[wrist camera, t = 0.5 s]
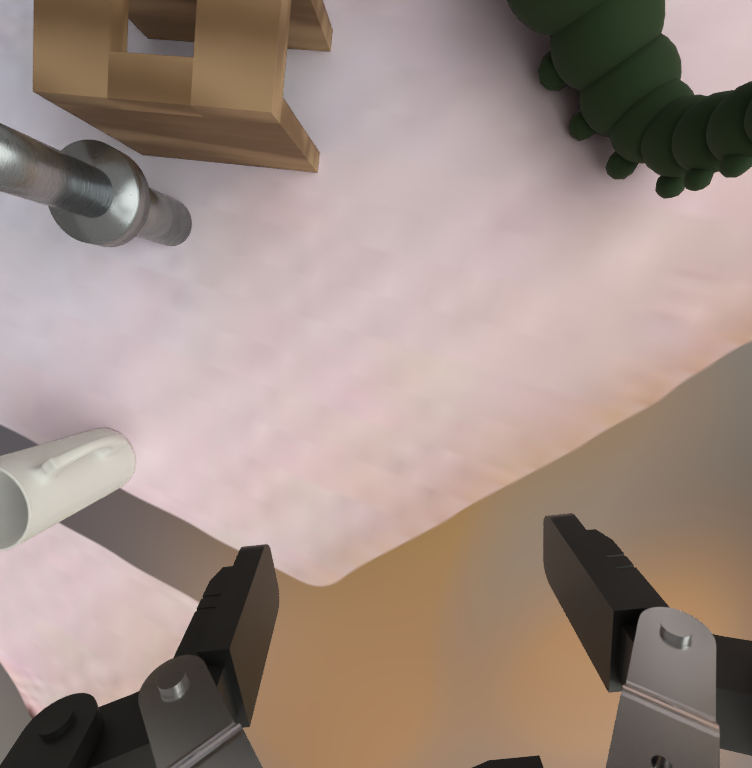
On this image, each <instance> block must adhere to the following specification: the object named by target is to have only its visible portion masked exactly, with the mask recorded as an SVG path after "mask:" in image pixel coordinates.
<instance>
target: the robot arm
mask: <svg viewBox="0 0 752 768" xmlns="http://www.w3.org/2000/svg"><path fill="white" fill-rule="evenodd" d="M543 535H544V536H543V537H544V538H543V540H544V541H543V549H544V550H543V555H544V556H543V562H544V569H545V573H546V577H547V579H548V582H549V584H550V586H551V588H552V590H553V592H554V594H555V595H556V597H557V599H558V601H559V603H560V605H561V606H562V608H563V610H564V612H565V614H566V616H567V617H568V619H569V621H570V623H571V625H572V626H573V628H574V630H575V632H576V634H577V635H578V638H579V639H580V641H581V643H582V645H583V647H584V649H585V650H586V652H587V654H588V656H589V658H590V659H591V661H592V663H593V665H594V667H595V669H596V670H597V672H598V674H599V676H600V678H601V680H602V681H603V683H604V685H605V687H606V689H607V690H608V692H619V691H621V696H620V701H619V706H618V710H617V716H616V720H615V725H614V730H613V735H612V740H611V745H610V750H609V754H608V760H607V764H606V768H720V748H721V749H725V750H729V751H734V752H738V753H743V754H747V755H751V756H752V641H749V640H742V639H736V638H730V637H723V636H719V635H714V634H712V633H711V631H710V630H709V629H708V628H707V627H706V626H705V625H704V624H703V623H702V622H700V621H699V620H698V619H696V618H694V617H693V616H691V615H689V614H687V613H685V612H682V611H680V610H676V609H673V608H670V607H669V606H668V605H667V604H666V603H665V601H664V600H663V599H662V598H661V597H660V595H659V594H658V593H657V592H656V591H655V590H654V588H653V587H652V586H651V585H650V584H649V582H647V580H646V579H645V578H644V577H643V575H642V574H641V573H640V572H639V571H638V570H637V568H634V566H633V564H632V562H631V561H630V560H629V559H628V558H627V557H626V556H624V553H623V552H622V551H621V549H620V548H619V547H618V546H617V545H616V544H615V543H614V541H613V540H612V539H610V538H608V537H607V536H605V535H604V534H602V533H600V532H599V531H597V530H595V529H594V530H586V529H585V528H584V526H583V525H582V524H581V522H580V521H579V520H578V519H577V517H576V516H575V515H574V514H572V513H569V514H560V515H551V516H545V518H544V534H543ZM278 608H279V589H278V583H277V578H276V574H275V569H274V564H273V559H272V554H271V550H270V547H269V545H268V544H265V545H256V546H246V547H241V549H240V550H239V553H238V555H237V557H236V560H235V562H234V565H233V566H230V567H223V568H222V569H221V570H220V571H219V572H218V573H217V574H216V575H215V576H214V577H213V578H212V579H211V580H210V582H209V584H208V586H207V588H206V590H205V592H204V594H203V599H201V601H200V603H199V605H198V607H197V612H195V613H194V616H193V618H192V620H191V622H190V624H189V626H188V628H187V630H186V632H185V635H184V637H183V639H182V641H181V643H180V645H179V647H178V649H177V652H176V654H175V656H174V658H173V659H170V660H168V661H167V662H165V663H163V664H162V665H160V666H159V667H158V668H156V669H155V670H154V671H153V672H152V673H151V674H150V675H149V676H148V678H147V679H146V680H145V682H144V683H143V685H142V687H141V689H140V691H138V692H136V693H134V694H132V695H129V696H127V697H124V698H121V699H119V700H116V701H114V702H111V703H108V704H106V705H103V706H101V707H98V705H97V702H96V700H95V698H94V697H93V696H92V695H90V694H86V693H77V694H72V695H69V696H66V697H64V698H62V699H59V700H57V701H56V702H54V703H52V704H51V705H49V706H48V707H46V708H45V709H44V710H42V711H41V712H40V713H39V714H38V715H36V716H35V717H34V718H33V719H32V720H31V721H30V723H29V724H28V725H27V726H26V728H25V729H24V731H23V732H22V733H21V735H20V736H19V738H18V739H17V741H16V742H15V744H14V745H13V747H12V748H11V750H10V751H9V753H8V755H7V756H6V757H5V759H4V760H3V762H2V763H1V765H0V768H263V767H262V766H261V763H260V762H259V760H258V758H257V756H256V754H255V752H254V750H253V748H252V746H251V744H250V742H249V740H248V738H247V736H246V734H245V732H244V730H243V727H250V724H251V719H252V715H253V711H254V707H255V703H256V699H257V695H258V690H259V687H260V683H261V678H262V674H263V670H264V666H265V662H266V658H267V654H268V650H269V646H270V642H271V638H272V634H273V630H274V625H275V621H276V617H277V613H278ZM473 768H543V765H542V762H541V759H540V756H529V757H519V758H509V759H499V760H489V761H487V762H484V763H482V764H480V765H477V766H475V767H473Z"/></svg>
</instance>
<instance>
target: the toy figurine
mask: <svg viewBox="0 0 752 768" xmlns="http://www.w3.org/2000/svg"><path fill="white" fill-rule="evenodd" d="M507 2H508V5H509V6H510V8H511V10H512V11H513V13H514V14H515V15H516V16H517V18H518V19H519V20H520V21H521V22H522V23H523V24H524V25H526V26H527V27H529V28H530V29H532V30H534V31H537V32H539V33H542V34H545V35H549V36H551V40H550V47H551V51H550V52H549V53H548V54H547V55H546V56H544V57H543V59H542V62H541V64H540V67H539V70H538V73H539V79H540V83H541V84H542V85H543V86H544V87H545V88H546V89H547V90H551V91H559V90H561V89H562V88H564V87H565V86H567V85H569V86H570V87H572V88H574V89H576V90H579V104H580V109H581V112H579V113H577V114H575V115H574V116H573V117H572V119H571V121H570V123H569V129H570V134H571V136H572V137H573V138H575V139H577V140H578V141H580V140H584V139H588V138H589V137H591V136H592V135H593V134H594V133H596V132H597V133H599V134H600V135H602V136H606V137H610V141H611V143H612V145H613V147H614V149H615V152H614V153H613V154H612V155H611V156H610V158H609V160H608V162H607V165H606V170H607V174H608V175H609V176H611V177H612V178H613V179H625V178H626V177H628V176H629V175H631V174H632V173H633V171H634V170H635V169H636V167H637V165H638V163H645V164H646V165H647V166H648V167H649V168H650V169H651V170H653V171H654V172H655V173H657V174H659V175H661V176H660V177H659V178H658V180H657V183H656V190H655V191H656V192H657V194H658V195H659V196H660V197H662V198H672V197H675V196H678V195H679V194H680V193H681V192H682V191H683V190H684V188H685V187H686V189H688V190H692V191H697V190H701V189H703V188H705V187H706V186H708V185H709V184H710V182H711V179H712V177H713V174H714V173H715V172H718V171H719V172H720V173H721V174H722V175H723V176H724V177H738V176H740V175H742V174H743V173H744V172H746V171H747V170H748V169H749V168H750V167H752V81H751V82H748V83H746V84H744V85H742V86H740V87H738V88H736V89H735V90H731V91H724V92H719V93H714V94H712V95H709V96H704V95H694V93H693V91H692V90H691V89H690V87H689V86H688V85H687V84H685V83H684V82H682V81H681V80H680V79H681V59H680V56H679V54H678V51H677V49H676V46H675V45H674V44H673V43H672V42H671V41H670V39H669V38H668V37H666V36H665V35H663V34H661V32H662V29H663V25H664V18H665V0H507Z"/></svg>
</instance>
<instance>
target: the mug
mask: <svg viewBox="0 0 752 768" xmlns="http://www.w3.org/2000/svg"><path fill="white" fill-rule="evenodd" d="M135 465H136V459H135V454H134V451H133V448H132V446H131V444H130V443H129V442H128V440H127V439H126V438H125V437H124V436H123V434H122V433H118V432H116V431H114V430H111V429H107V428H99V429H94V430H91V431H87V432H84V433H80V434H76V435H72V436H69V437H66V438H62V439H59V440H55V441H52V442H48V443H45V444H41V445H38V446H34V447H31V448H27V449H24V450H20V451H17V452H13V453H10V454H6V455H3V456H0V551H5V550H8V549H11V548H13V547H15V546H17V545H18V544H20V543H22V542H24V541H26V540H28V539H30V538H32V537H34V536H35V535H37V534H39V533H41V532H43V531H44V530H46V529H48V528H50V527H51V526H53V525H55V524H57V523H58V522H60V521H62V520H64V519H66V518H67V517H69V516H71V515H73V514H74V513H76V512H78V511H80V510H81V509H83V508H85V507H87V506H89V505H90V504H92V503H94V502H96V501H97V500H99V499H101V498H103V497H105V496H106V495H108V494H110V493H112V492H113V491H115V490H117V489H118V488H120V487H122V486H123V485H125V484H126V483H127V482H128V481H129V480H130V479H131V477H132V475H133V473H134V470H135Z"/></svg>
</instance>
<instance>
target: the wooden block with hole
mask: <svg viewBox="0 0 752 768" xmlns="http://www.w3.org/2000/svg"><path fill="white" fill-rule="evenodd" d="M128 19H129V20H130V21H131V22H132V23H133V24H134V25H135V26H136V27H137V28H138V29H139V30H140V31H141V32H142V33H143V34H144V35H145V36H146V37H147V38H148V39H162V40H176V41H190V42H194V57H181V56H167V55H154V54H141V53H127V36H128ZM332 31H333V29H332V27H331V24H330V21H329V18H328V15H327V12H326V9H325V6H324V3H323V0H34V32H33V92H35V93H36V94H38V95H40V96H42V97H43V98H45V99H47V100H48V101H50V102H52V103H54V104H55V105H57V106H59V107H61V108H62V109H64V110H66V111H68V112H69V113H71V114H73V115H74V116H76V117H78V118H80V119H81V120H83V121H85V122H87V123H88V124H90V125H92V126H93V127H95V128H97V129H99V130H100V131H102V132H104V133H106V134H107V135H109V136H111V137H113V138H114V139H116V140H118V141H119V142H121V143H123V144H125V145H126V146H128V147H130V148H132V149H133V150H135V151H137V152H139V153H140V154H142V155H148V156H158V157H168V158H178V159H188V160H198V161H208V162H218V163H228V164H238V165H247V166H257V167H267V168H277V169H287V170H297V171H307V172H317V173H318V164H319V154H320V152H319V151H318V149H317V148H316V146H315V145H314V143H313V142H312V140H311V139H310V137H309V136H308V134H307V133H306V131H305V130H304V128H303V127H302V125H301V124H300V122H299V121H298V119H297V118H296V116H295V115H294V113H293V112H292V110H291V109H290V107H289V106H288V104H287V103H286V101H285V100H284V98H283V87H284V76H285V65H286V54H287V48H289V49H303V50H317V51H330V50H331V41H332Z"/></svg>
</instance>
